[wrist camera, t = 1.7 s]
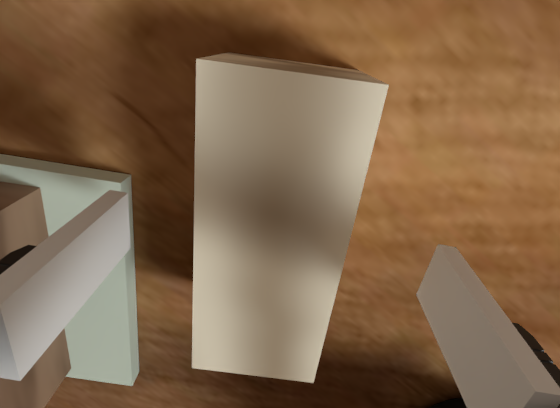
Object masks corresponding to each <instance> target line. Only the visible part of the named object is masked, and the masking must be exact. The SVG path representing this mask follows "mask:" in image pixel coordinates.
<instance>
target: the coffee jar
mask: <svg viewBox="0 0 560 408" xmlns="http://www.w3.org/2000/svg"><path fill="white" fill-rule="evenodd" d="M429 408H467V407H466V405H465V402H464V400H463V398H458V399H452V400H447V401H444V402H442V403H439V404H437V405H434V406H431V407H429Z"/></svg>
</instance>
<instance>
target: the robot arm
mask: <svg viewBox="0 0 560 408" xmlns="http://www.w3.org/2000/svg"><path fill="white" fill-rule="evenodd" d="M130 248H131V246H130V225H129V203H128V193H126V192H120V191H114V190H109V191H107V192H106V193H105V194H103V195H102V196H101V197H100V198H98V199H97V200H96V201H94V202H93V203H92V204H91V205H89V206H88V207H87V208H85V209H84V210H83V211H82V212H80V213H79V214H78V215H76V216H75V217H74V218H73V219H71V220H70V221H69V222H67V223H66V224H65V225H64V226H62V227H61V228H60V229H58V230H57V231H56V232H55V233H53V234H52V235H51V236H49V237H48V238H47V239H45V240H44V241H43V242H42V243H40V244H39V245H38V246H34V245H27V246H24V247H22V248H20V249H17V250H15V251H13V252H10V253H9V254H8V255H6V256H5V257H3V258H2V259H1V260H0V378H4V379H11V380H17V381H21V380H22V378H23V377H24V376H25V375H26V374H27V372H28V371H29V370H30V369H31V368H32V366H33V365H34V364H35V363H36V362H37V360H38V359H39V358H40V357H41V356H42V354H43V353H44V352H45V351H46V349H47V348H48V347H49V346H50V345H51V343H52V342H53V341H54V340H55V339H56V337H57V336H58V335H59V334H60V333H61V331H62V330H63V329H64V328H65V327H66V325H67V324H68V323H69V322H70V320H71V319H72V318H73V317H74V316H75V314H76V313H77V312H78V311H79V310H80V308H81V307H82V306H83V305H84V304H85V302H86V301H87V300H88V299H89V298H90V296H91V295H92V294H93V293H94V291H95V290H96V289H97V288H98V287H99V285H100V284H101V283H102V282H103V281H104V279H105V278H106V277H107V276H108V275H109V273H110V272H111V271H112V270H113V269H114V267H115V266H116V265H117V264H118V262H119V261H120V260H121V259H122V258H123V256H124V255H125V254H126V253H127V252H128V250H129V249H130ZM416 295H417V297H418V300H419V302H420V304H421V306H422V309H423V311H424V313H425V315H426V318H427V320H428V322H429V324H430V326H431V329H432V331H433V333H434V335H435V338H436V340H437V342H438V344H439V347H440V349H441V351H442V353H443V356H444V358H445V360H446V362H447V364H448V367H449V369H450V371H451V373H452V376H453V378H454V380H455V382H456V385H457V387H458V389H459V391H460V394H461V396H462V398H463V400H464V402H465V405H466V407H467V408H560V370H559V369H558V367H557V366H556V365H554V364H553V361H552V360H551V359H550V357H549V356H548V355H547V353H544V350H543V348H542V347H541V346H540V344H539V343H538V342H537V341H536V339H535V338H534V337H533V336H532V335H531V334H530V333H529V332H527V331H526V330H525V329H524V328H523V327H522V326H520V325H519V324H517V323H511V321H510V320H509V318H508V317H507V316H506V314H505V313H504V312H503V310H502V309H501V308H500V306H499V305H498V304H497V302H496V301H495V300H494V298H493V297H492V296H491V294H490V293H489V291H488V290H487V289H486V287H485V286H484V285H483V283H482V282H481V281H480V279H479V278H478V277H477V275H476V274H475V273H474V271H473V270H472V269H471V267H470V266H469V264H468V263H467V262H466V260H465V259H464V258H463V256H462V255H461V254H460V252H459V251H458V250H457V248H456V247H451V246H445V245H439V244H438V245H437V248H436V250H435V252H434V255H433V257H432V259H431V262H430V264H429V266H428V269H427V271H426V273H425V276H424V278H423V280H422V283H421V285H420V287H419V290H418V292H417V294H416Z"/></svg>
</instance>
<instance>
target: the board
mask: <svg viewBox="0 0 560 408" xmlns="http://www.w3.org/2000/svg"><path fill="white" fill-rule="evenodd" d="M0 181H1V182H8V183H14V184H20V185H27V186H33V187H39V188H40V189H41V195H42V201H43V207H44V212H45V218H46V224H47V230H48V236H51V235H52V234H53V233H55V232H56V231H57V230H58V229H60V228H61V227H62V226H64V225H65V224H66V223H67V222H69V221H70V220H71V219H73V218H74V217H75V216H76V215H78V214H79V213H80V212H82V211H83V210H84V209H85V208H87V207H88V206H89V205H91V204H92V203H93V202H94V201H96V200H97V199H98V198H100V197H101V196H102V195H103V194H105V193H106V192H107V191H109V190H114V191H120V192H126V193H128V203H129V225H130V246H131V248H130V249H129V250H128V252H127V253H126V254H125V255H124V256H123V258H122V259H121V260H120V261H119V262H118V264H117V265H116V266H115V267H114V269H113V270H112V271H111V272H110V273H109V275H108V276H107V277H106V278H105V279H104V281H103V282H102V283H101V284H100V285H99V287H98V288H97V289H96V290H95V291H94V293H93V294H92V295H91V296H90V298H89V299H88V300H87V301H86V302H85V304H84V305H83V306H82V307H81V308H80V310H79V311H78V312H77V313H76V314H75V316H74V317H73V318H72V319H71V320H70V322H69V323H68V324H67V325H66V327H65V328H64V329H65V334H66V340H67V346H68V352H69V358H70V364H71V369H70V371H69V372H68V374H67V375H66V377H72V378H79V379H86V380H93V381H100V382H107V383H114V384H121V385H129V386H133V383H134V381H135V379H136V377H137V375H138V373H139V354H138V330H137V306H136V282H135V258H134V234H133V210H132V186H131V175H130V174H124V173H117V172H111V171H105V170H99V169H92V168H86V167H80V166H74V165H67V164H61V163H55V162H49V161H42V160H36V159H30V158H24V157H17V156H11V155H5V154H0Z"/></svg>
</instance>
